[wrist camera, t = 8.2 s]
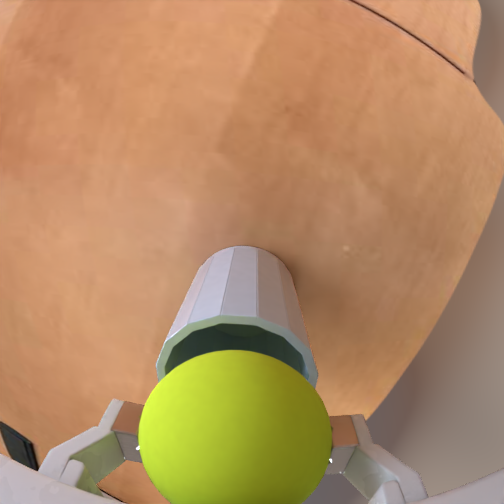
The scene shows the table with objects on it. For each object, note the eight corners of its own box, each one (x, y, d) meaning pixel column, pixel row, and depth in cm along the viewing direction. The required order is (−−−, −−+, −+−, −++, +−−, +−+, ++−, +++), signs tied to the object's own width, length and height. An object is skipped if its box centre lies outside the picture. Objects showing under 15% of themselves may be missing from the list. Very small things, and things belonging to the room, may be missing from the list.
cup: (192, 242, 20) (148, 307, 11) (299, 248, 20) (330, 319, 11) (194, 333, 22) (165, 425, 13) (288, 339, 22) (303, 434, 13)
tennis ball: (154, 309, 11) (84, 439, 5) (327, 317, 12) (384, 455, 5) (169, 423, 13) (141, 536, 7) (302, 430, 14) (321, 544, 7)
